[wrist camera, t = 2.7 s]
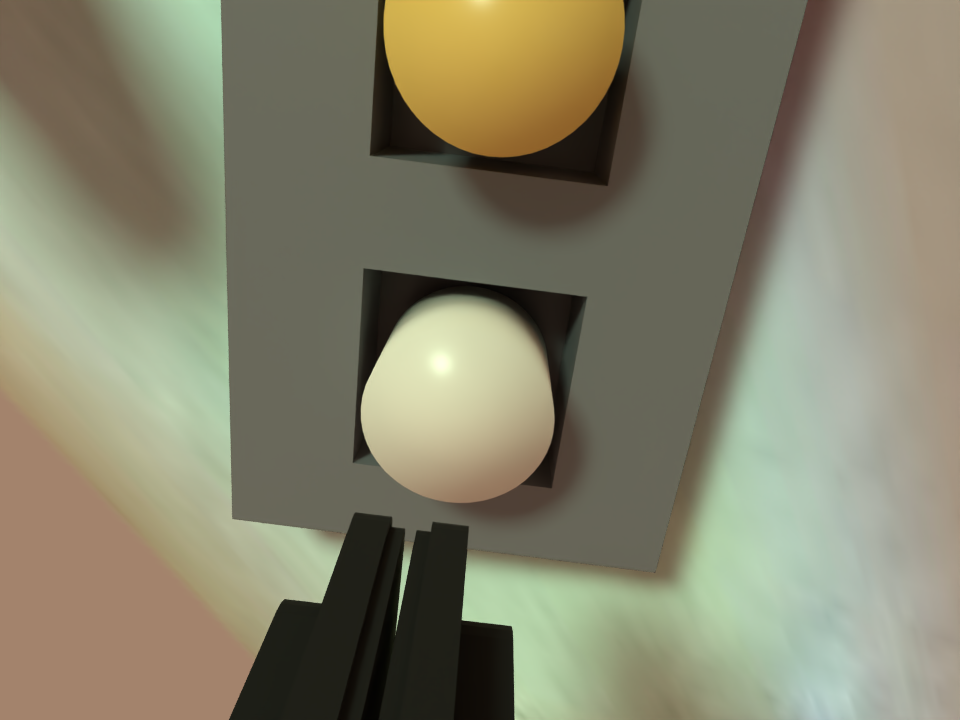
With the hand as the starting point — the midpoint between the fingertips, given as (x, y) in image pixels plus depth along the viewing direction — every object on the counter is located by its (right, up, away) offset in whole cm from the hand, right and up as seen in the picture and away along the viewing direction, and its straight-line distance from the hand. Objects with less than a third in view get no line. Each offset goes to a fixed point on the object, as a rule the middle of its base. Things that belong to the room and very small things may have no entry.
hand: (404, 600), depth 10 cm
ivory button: (+1, +3, +9) cm, 9 cm away
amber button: (+2, +11, +6) cm, 12 cm away
